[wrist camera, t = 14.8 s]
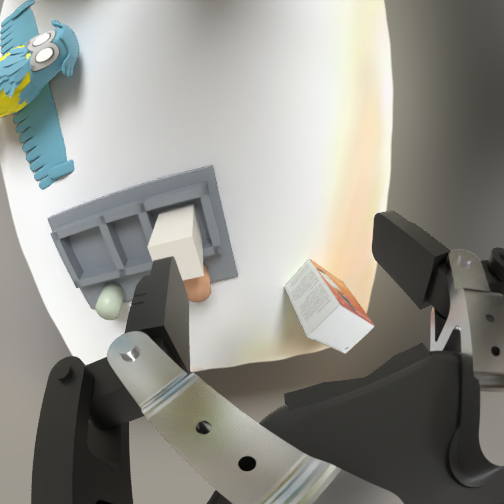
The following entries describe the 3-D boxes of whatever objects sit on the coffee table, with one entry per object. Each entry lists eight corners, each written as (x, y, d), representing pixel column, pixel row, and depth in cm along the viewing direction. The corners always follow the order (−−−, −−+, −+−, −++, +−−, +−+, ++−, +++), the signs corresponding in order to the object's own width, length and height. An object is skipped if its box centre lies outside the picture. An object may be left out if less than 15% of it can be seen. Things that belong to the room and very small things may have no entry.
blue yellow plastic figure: (-48, 31, 5) (47, -51, 5) (-14, 37, 12) (72, -26, 13) (-9, 227, 19) (92, 161, 19) (27, 201, 26) (118, 149, 27)
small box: (342, 281, 41) (376, 326, 31) (318, 306, 42) (345, 355, 33) (308, 256, 37) (341, 304, 28) (282, 286, 39) (306, 338, 30)
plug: (160, 211, 30) (147, 247, 22) (193, 202, 30) (192, 236, 22) (169, 241, 32) (162, 285, 24) (201, 233, 32) (203, 275, 24)
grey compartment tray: (49, 217, 28) (32, 232, 24) (212, 165, 29) (214, 173, 25) (92, 306, 35) (84, 327, 31) (237, 273, 36) (242, 294, 32)
